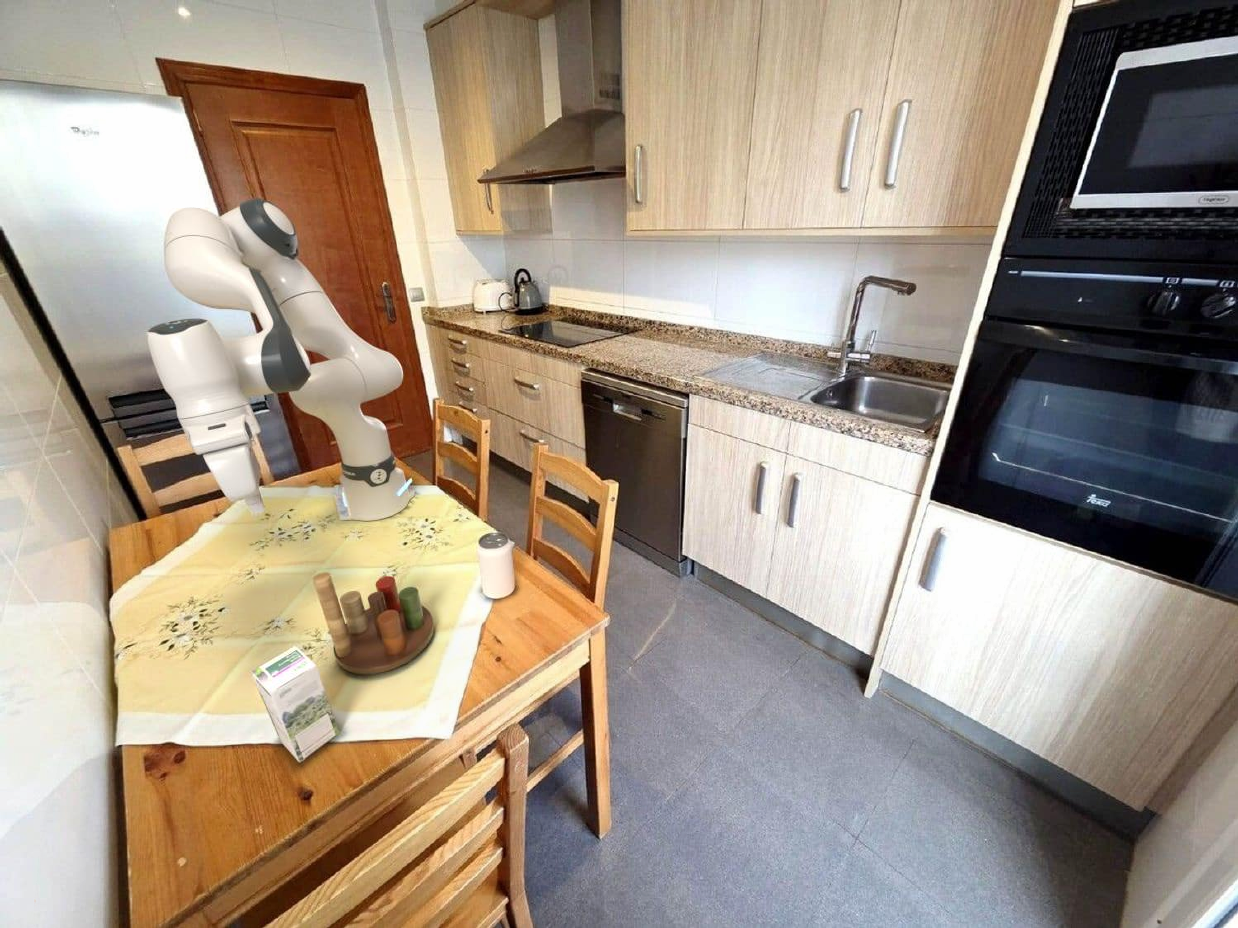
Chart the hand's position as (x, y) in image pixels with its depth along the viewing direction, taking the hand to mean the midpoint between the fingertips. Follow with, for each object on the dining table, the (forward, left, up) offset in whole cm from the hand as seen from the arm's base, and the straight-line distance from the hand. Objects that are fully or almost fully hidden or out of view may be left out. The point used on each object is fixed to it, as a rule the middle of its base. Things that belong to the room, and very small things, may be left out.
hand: (259, 511), depth 81 cm
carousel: (+14, +10, -24) cm, 29 cm away
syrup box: (+25, -5, -25) cm, 36 cm away
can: (+15, +32, -25) cm, 44 cm away
